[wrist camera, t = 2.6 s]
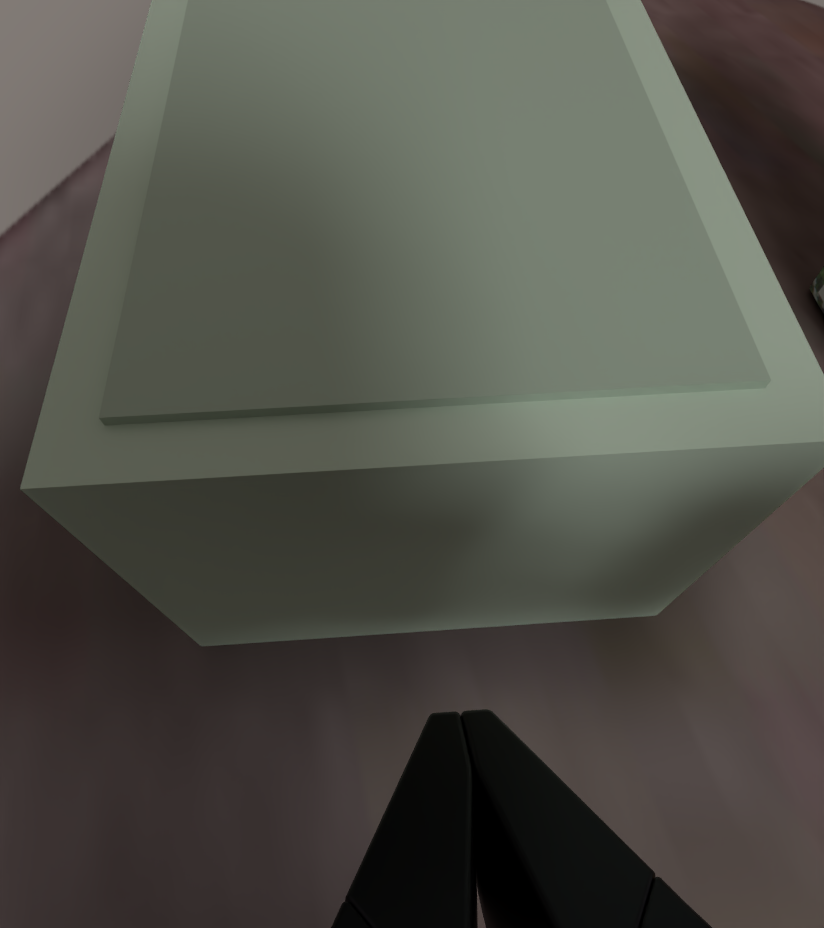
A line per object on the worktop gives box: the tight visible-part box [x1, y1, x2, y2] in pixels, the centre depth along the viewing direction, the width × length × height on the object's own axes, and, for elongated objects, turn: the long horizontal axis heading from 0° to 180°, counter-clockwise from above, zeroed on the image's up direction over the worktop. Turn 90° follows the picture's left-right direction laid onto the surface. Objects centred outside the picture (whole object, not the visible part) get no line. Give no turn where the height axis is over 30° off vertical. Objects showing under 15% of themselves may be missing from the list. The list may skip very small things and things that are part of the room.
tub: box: [20, 0, 824, 646], centre depth 17 cm, size 16×12×9 cm
